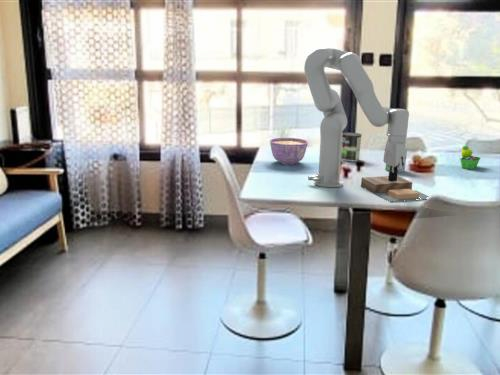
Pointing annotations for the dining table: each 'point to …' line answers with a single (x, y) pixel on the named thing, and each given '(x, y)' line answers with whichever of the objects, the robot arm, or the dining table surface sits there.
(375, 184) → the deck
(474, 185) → the dining table surface
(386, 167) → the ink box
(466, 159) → the fruit basket
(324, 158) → the robot arm
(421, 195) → the mat
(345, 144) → the coffee can
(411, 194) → the tile
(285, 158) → the bowl of food
